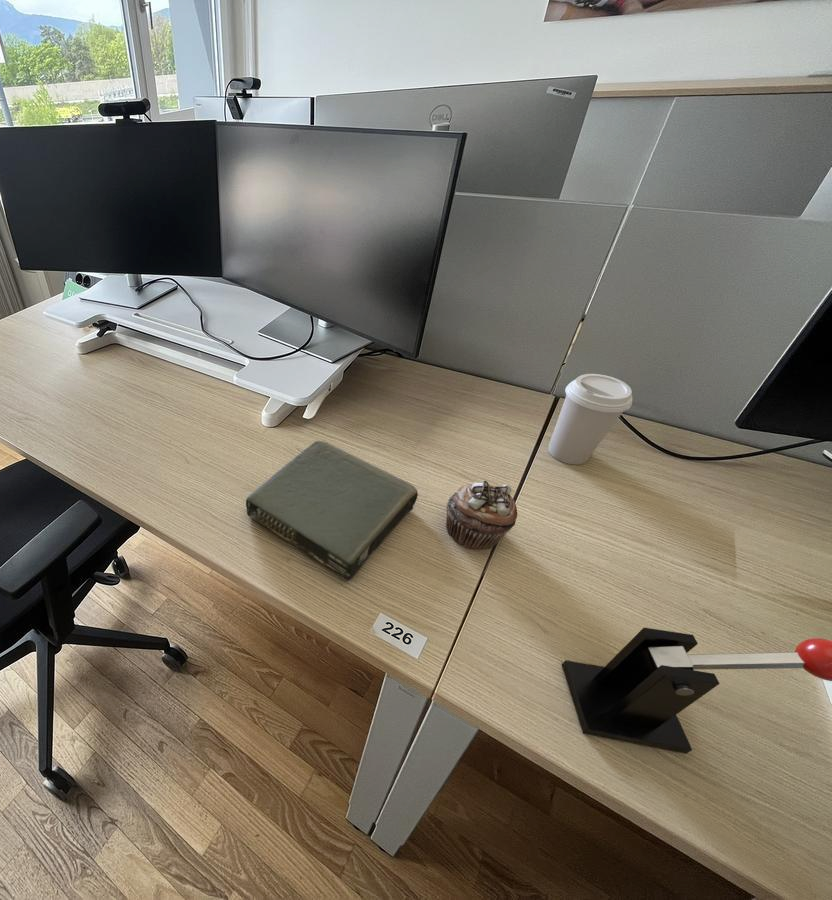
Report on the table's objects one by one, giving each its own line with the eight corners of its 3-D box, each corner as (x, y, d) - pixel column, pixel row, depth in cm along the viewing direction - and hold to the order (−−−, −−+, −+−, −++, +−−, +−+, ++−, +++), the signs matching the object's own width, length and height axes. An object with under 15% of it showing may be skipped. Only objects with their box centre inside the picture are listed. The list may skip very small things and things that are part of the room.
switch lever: (836, 650, 43) (843, 629, 42) (867, 689, 41) (875, 669, 39) (645, 654, 50) (644, 637, 48) (660, 688, 47) (660, 671, 46)
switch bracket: (653, 680, 56) (717, 625, 48) (686, 754, 50) (766, 706, 42) (561, 664, 58) (607, 609, 50) (582, 733, 52) (639, 684, 44)
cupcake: (498, 512, 78) (518, 469, 71) (510, 559, 70) (533, 515, 64) (437, 505, 80) (451, 462, 73) (443, 549, 73) (458, 506, 66)
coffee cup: (528, 440, 91) (557, 374, 81) (574, 434, 91) (609, 368, 82) (559, 473, 84) (596, 405, 74) (610, 466, 84) (653, 398, 74)
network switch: (236, 526, 79) (234, 506, 76) (305, 451, 93) (305, 431, 90) (363, 594, 68) (367, 573, 64) (420, 497, 81) (426, 476, 78)
